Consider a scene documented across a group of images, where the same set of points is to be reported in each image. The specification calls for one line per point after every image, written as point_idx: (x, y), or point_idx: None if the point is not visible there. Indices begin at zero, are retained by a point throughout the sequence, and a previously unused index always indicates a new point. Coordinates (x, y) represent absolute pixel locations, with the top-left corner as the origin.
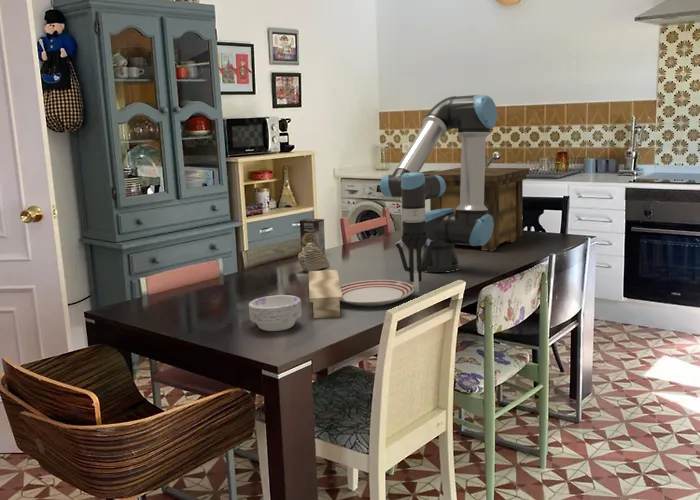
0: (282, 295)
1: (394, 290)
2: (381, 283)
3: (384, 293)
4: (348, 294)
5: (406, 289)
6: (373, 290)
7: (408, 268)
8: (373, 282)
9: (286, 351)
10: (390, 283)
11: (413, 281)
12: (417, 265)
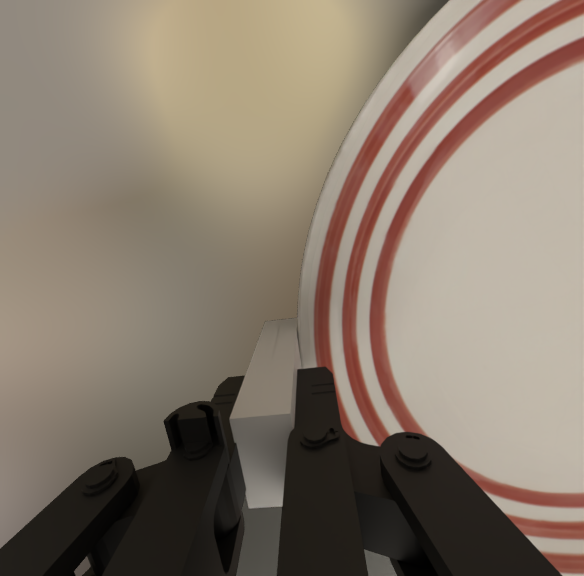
0: None
1: (433, 406)
2: None
3: (509, 358)
4: None
5: (355, 368)
6: (574, 438)
7: (378, 488)
8: (575, 553)
9: None
10: None
11: (300, 370)
12: (210, 555)
